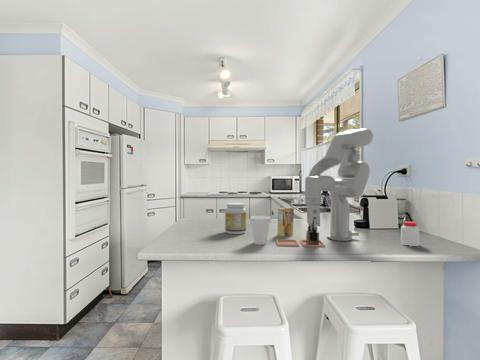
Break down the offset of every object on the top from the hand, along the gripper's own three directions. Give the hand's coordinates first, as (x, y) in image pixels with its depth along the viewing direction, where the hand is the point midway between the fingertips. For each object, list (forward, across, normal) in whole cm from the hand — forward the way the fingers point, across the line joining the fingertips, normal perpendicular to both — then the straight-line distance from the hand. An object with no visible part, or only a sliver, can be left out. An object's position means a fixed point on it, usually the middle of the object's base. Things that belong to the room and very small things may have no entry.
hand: (312, 238), depth 141 cm
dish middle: (+3, 0, +12) cm, 12 cm away
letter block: (+3, 0, 0) cm, 3 cm away
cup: (+3, 0, +25) cm, 25 cm away
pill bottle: (+3, +5, -48) cm, 48 cm away
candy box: (+3, +20, +11) cm, 23 cm away
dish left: (+3, 0, 0) cm, 3 cm away
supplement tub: (+3, +25, +39) cm, 46 cm away
